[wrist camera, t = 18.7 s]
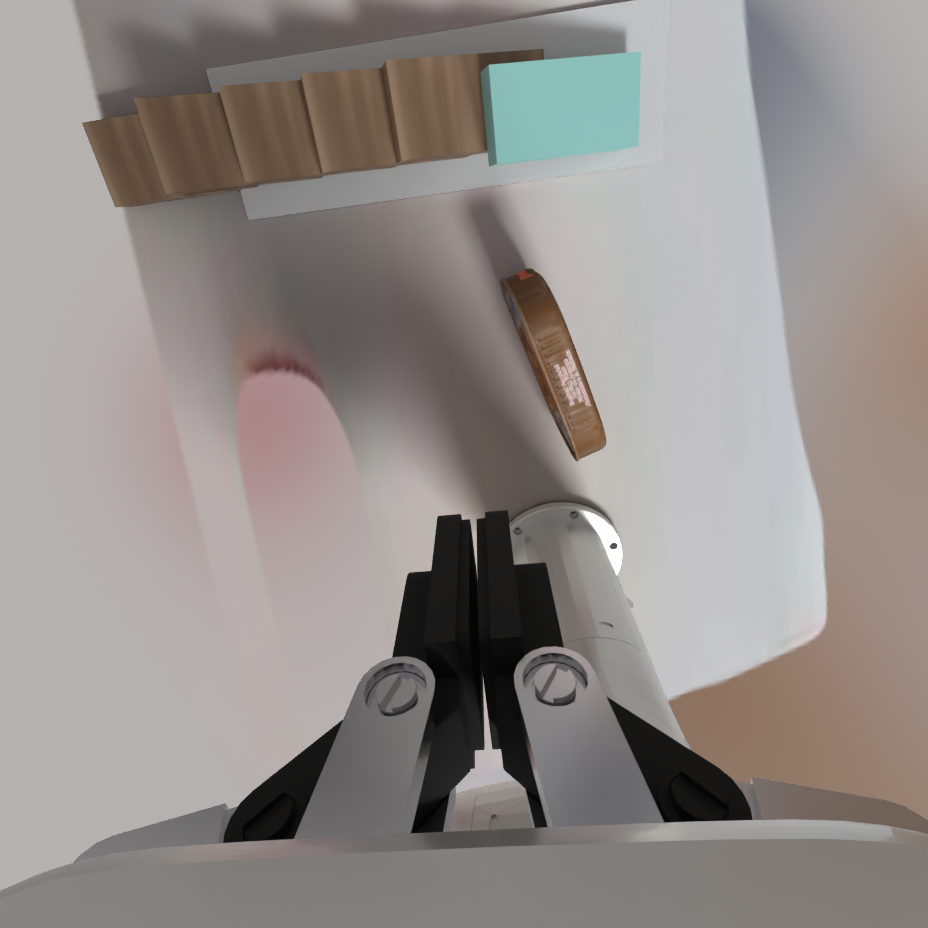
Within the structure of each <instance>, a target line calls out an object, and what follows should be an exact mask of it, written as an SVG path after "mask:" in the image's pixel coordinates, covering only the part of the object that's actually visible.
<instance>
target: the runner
mask: <svg viewBox="0 0 928 928" xmlns="http://www.w3.org/2000/svg"><path fill="white" fill-rule="evenodd" d="M669 15H670V0H633V1H627V2H620V3H614V4H608V5H602V6H595V7H589V8H583V9H577V10H570V11H564V12H558V13H552V14H545V15H539V16H533V17H527V18H521V19H514V20H508V21H502V22H496V23H489V24H483V25H477V26H471V27H464V28H458V29H452V30H446V31H439V32H433V33H427V34H421V35H414V36H408V37H402V38H396V39H389V40H383V41H377V42H371V43H365V44H358V45H352V46H346V47H340V48H333V49H327V50H321V51H315V52H308V53H302V54H296V55H290V56H283V57H277V58H271V59H265V60H258V61H252V62H246V63H240V64H233V65H227V66H221V67H215V68H208V69H206V73H207V77H208V80H209V84H210V87H211V91H212V93H214V92H220V91H219V88H218V86H224V85H238V84H251V83H265V82H279V81H292V80H300V79H301V74H304V73H317V72H331V71H344V70H358V69H371V68H382V66H383V64H384V62H385V61H386V60H393V59H407V58H421V57H436V56H450V55H464V54H478V53H492V52H506V51H520V50H534V49H544V60H549V59H560V58H571V57H583V56H594V55H606V54H617V53H629V52H640V51H641V65H640V107H639V146H636V147H632V148H628V149H623V150H616V151H608V152H600V153H592V154H585V155H577V156H569V157H561V158H554V159H546V160H538V161H530V162H523V163H515V164H507V165H499V166H491V167H489V162H488V153H482V154H474V155H470V156H468V157H465V158H458V159H449V160H441V161H432V162H424V163H416V164H407V165H399V166H396V167H394V168H386V169H377V170H369V171H360V172H352V173H343V174H334V175H326V176H323V177H322V178H319V179H309V180H300V181H291V182H282V183H273V184H264V185H258V187H254V188H247V189H241V190H240V193H241V196H242V200H243V203H244V207H245V210H246V214H247V217H248V220H254V219H261V218H268V217H275V216H283V215H290V214H297V213H304V212H311V211H319V210H326V209H333V208H340V207H347V206H355V205H362V204H369V203H376V202H383V201H391V200H398V199H405V198H412V197H419V196H426V195H434V194H441V193H448V192H455V191H462V190H470V189H477V188H484V187H491V186H498V185H506V184H513V183H520V182H527V181H534V180H542V179H549V178H556V177H563V176H570V175H578V174H585V173H592V172H599V171H606V170H614V169H621V168H628V167H635V166H642V165H650V164H657V163H662V158H663V137H664V117H665V97H666V76H667V56H668V35H669Z"/></svg>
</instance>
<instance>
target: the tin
mask: <svg viewBox="0 0 928 928" xmlns="http://www.w3.org/2000/svg"><path fill="white" fill-rule="evenodd" d="M500 283H501V287H502V291H503V295H504V298H505V301H506V304H507V306H508V309H509V312H510V314H511V316H512V319H513V322H514V324H515V327H516V329H517V332H518V334H519V337H520V339H521V342H522V344H523V346H524V349H525V351H526V354H527V356H528V359H529V361H530V363H531V366H532V368H533V371H534V373H535V376H536V378H537V381H538V383H539V386H540V388H541V390H542V393H543V395H544V398H545V400H546V402H547V405H548V407H549V409H550V411H551V414H552V416H553V418H554V420H555V423H556V425H557V427H558V429H559V431H560V433H561V435H562V437H563V439H564V441H565V443H566V445H567V446H568V448H569V450H570V452H571V454H572V456H573V458H574V459H575V460H576V461H579V460H580V459H581V458H583V457H585V456H587V455H590V454H592V453H594V452H597V451H599V450H601V449H602V448H604V447H605V445H606V436H605V432H604V428H603V425H602V421H601V418H600V415H599V412H598V410H597V407H596V404H595V401H594V399H593V396H592V393H591V390H590V387H589V384H588V382H587V379H586V376H585V373H584V371H583V368H582V365H581V362H580V360H579V357H578V355H577V352H576V349H575V346H574V344H573V341H572V339H571V336H570V334H569V331H568V328H567V325H566V323H565V321H564V318H563V316H562V313H561V311H560V309H559V306H558V304H557V302H556V300H555V298H554V296H553V294H552V292H551V290H550V288H549V287H548V285H547V283H546V282H545V280H544V279H543V277H542V276H541V275H540V274H539V273H537V272H535V271H534V270H533V269H530V268H529V269H525V270H523V271H521V272H519V273H517V274H515V275H513V276H511V277H509V278H507V279H501V280H500Z"/></svg>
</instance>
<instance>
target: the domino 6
mask: <svg viewBox="0 0 928 928" xmlns="http://www.w3.org/2000/svg"><path fill="white" fill-rule="evenodd" d="M640 65H641V51H640V52H629V53H617V54H606V55H594V56H583V57H571V58H560V59H549V60H537V61H526V62H514V63H503V64H491V65H488V66H487V67H486V68H485V69H483V70H482V71H481V72H480V75H481V86H482V97H483V107H484V118H485V129H486V140H487V151H488V162H489V167H491V166H499V165H507V164H515V163H523V162H530V161H538V160H546V159H554V158H561V157H569V156H577V155H585V154H592V153H600V152H608V151H616V150H623V149H628V148H632V147H636V146H639V107H640Z"/></svg>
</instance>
